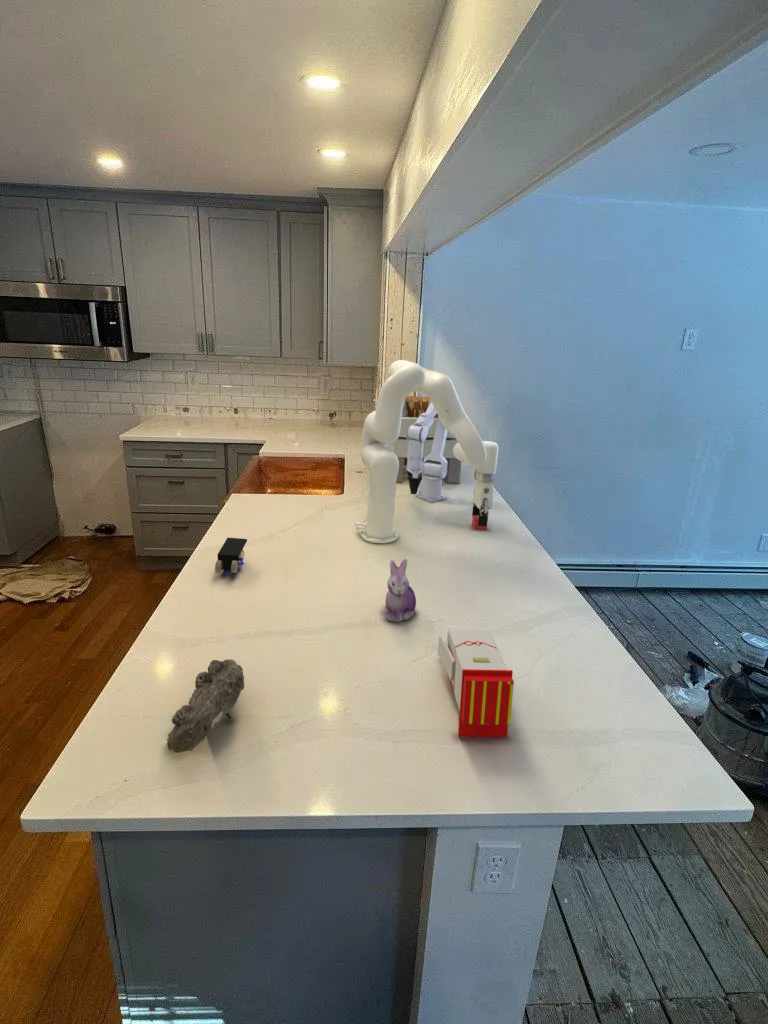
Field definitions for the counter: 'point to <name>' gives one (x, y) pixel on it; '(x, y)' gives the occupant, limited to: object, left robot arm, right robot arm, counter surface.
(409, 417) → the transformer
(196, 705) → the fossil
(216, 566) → the figurine character
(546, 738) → the counter surface
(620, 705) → the counter surface
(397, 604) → the figurine
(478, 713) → the toy
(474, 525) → the cube
